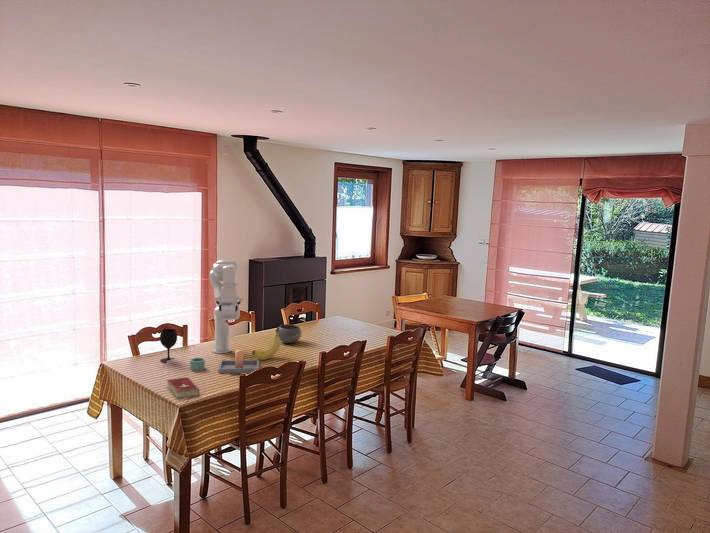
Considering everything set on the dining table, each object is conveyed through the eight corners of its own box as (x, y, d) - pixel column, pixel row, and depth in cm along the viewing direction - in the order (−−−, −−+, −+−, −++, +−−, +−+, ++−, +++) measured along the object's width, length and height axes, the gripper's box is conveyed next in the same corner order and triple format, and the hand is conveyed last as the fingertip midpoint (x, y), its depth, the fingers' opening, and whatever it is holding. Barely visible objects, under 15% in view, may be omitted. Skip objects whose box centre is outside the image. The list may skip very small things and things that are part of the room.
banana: (255, 362, 349) (255, 332, 346) (249, 360, 352) (250, 331, 350) (281, 356, 365) (282, 327, 363) (276, 354, 369) (277, 326, 367)
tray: (220, 365, 340) (220, 360, 339) (258, 365, 344) (258, 359, 344) (218, 374, 322) (218, 368, 322) (258, 373, 327) (258, 368, 326)
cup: (191, 368, 332) (191, 357, 331) (205, 367, 333) (205, 357, 333) (189, 372, 324) (189, 361, 323) (204, 372, 325) (204, 361, 324)
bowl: (303, 340, 410) (303, 324, 409) (298, 346, 393) (298, 329, 391) (280, 338, 412) (280, 322, 411) (274, 344, 394) (274, 328, 393)
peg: (235, 366, 335) (235, 349, 334) (243, 366, 336) (243, 349, 335) (234, 369, 330) (235, 351, 329) (243, 369, 331) (243, 351, 330)
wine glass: (180, 360, 346) (180, 330, 344) (167, 364, 337) (167, 333, 335) (169, 357, 351) (169, 327, 349) (156, 361, 342) (156, 330, 340)
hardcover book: (188, 383, 305) (188, 376, 305) (199, 395, 288) (199, 387, 288) (166, 386, 299) (166, 379, 298) (176, 398, 282) (176, 391, 281)
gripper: (242, 284, 348) (242, 310, 350) (215, 284, 345) (214, 310, 346) (242, 286, 340) (241, 312, 342) (214, 285, 337) (214, 312, 339)
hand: (228, 311), depth 344 cm, fingers open, 9 cm apart
